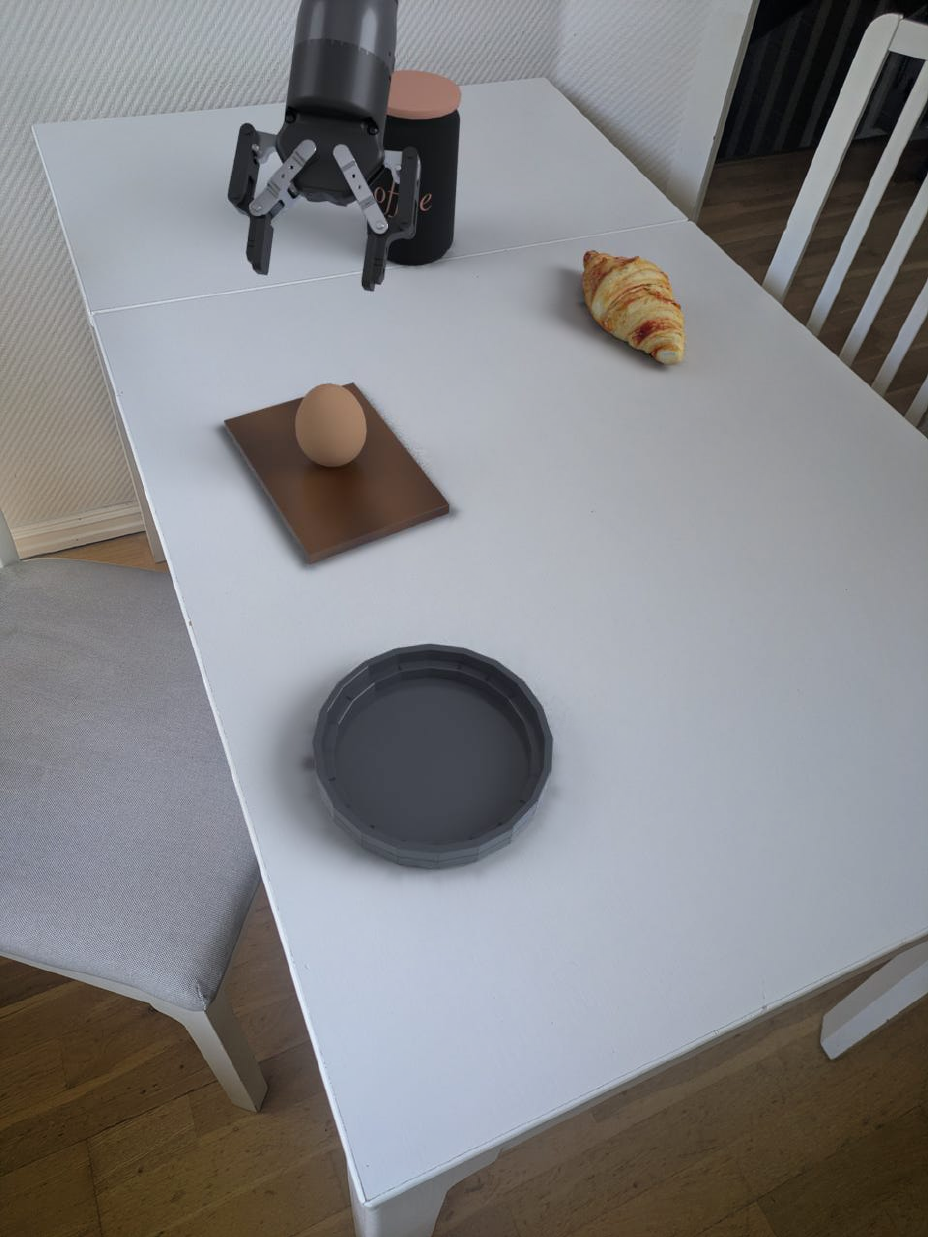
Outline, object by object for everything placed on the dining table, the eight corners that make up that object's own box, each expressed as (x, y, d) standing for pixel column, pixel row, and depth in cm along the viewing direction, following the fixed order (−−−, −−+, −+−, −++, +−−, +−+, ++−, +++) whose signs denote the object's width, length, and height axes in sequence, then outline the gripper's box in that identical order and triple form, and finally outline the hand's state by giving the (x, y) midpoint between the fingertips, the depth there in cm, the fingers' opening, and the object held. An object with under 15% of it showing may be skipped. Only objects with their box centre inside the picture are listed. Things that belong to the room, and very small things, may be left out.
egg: (321, 429, 88) (316, 357, 82) (379, 451, 87) (378, 380, 80) (285, 468, 84) (276, 396, 78) (345, 492, 83) (341, 421, 77)
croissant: (689, 393, 103) (735, 333, 99) (631, 375, 97) (678, 310, 92) (597, 290, 114) (635, 233, 110) (540, 268, 108) (578, 206, 103)
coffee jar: (349, 247, 111) (343, 89, 97) (402, 214, 117) (403, 61, 103) (419, 278, 108) (423, 119, 94) (469, 242, 114) (480, 88, 100)
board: (309, 564, 79) (308, 555, 78) (225, 429, 89) (223, 420, 88) (449, 513, 84) (449, 504, 83) (353, 391, 94) (353, 381, 93)
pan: (382, 914, 60) (382, 897, 58) (279, 719, 69) (275, 698, 67) (591, 802, 66) (599, 783, 64) (472, 636, 75) (475, 614, 73)
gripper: (236, 21, 65) (207, 252, 67) (431, 48, 64) (398, 280, 66) (264, 73, 72) (238, 280, 74) (439, 98, 72) (409, 306, 74)
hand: (313, 280), depth 70 cm, fingers open, 8 cm apart
